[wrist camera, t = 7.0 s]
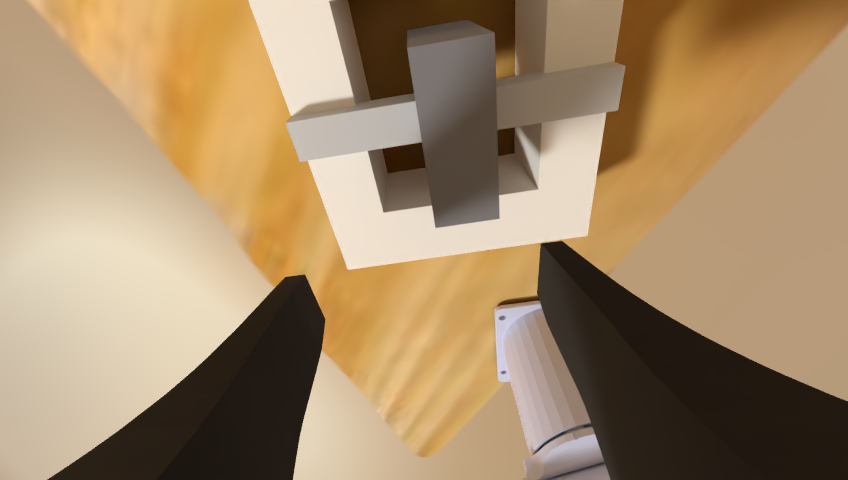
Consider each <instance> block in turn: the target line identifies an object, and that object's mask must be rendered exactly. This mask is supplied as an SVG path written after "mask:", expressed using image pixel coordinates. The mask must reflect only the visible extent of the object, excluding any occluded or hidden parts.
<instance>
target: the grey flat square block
mask: <svg viewBox="0 0 848 480" xmlns="http://www.w3.org/2000/svg"><path fill="white" fill-rule="evenodd" d="M407 52H408V58H409V64H410V70H411V77H412V83H413V89H414V96H415V102H416V108H417V115H418V121H419V127H420V134H421V140H422V146H423V153H424V159H425V165H426V171H427V178H428V184H429V190H430V197H431V203H432V209H433V216H434V222H435V228H440V227H447V226H454V225H460V224H467V223H474V222H481V221H488V220H495V219H500V214H499V175H498V136H497V98H496V59H495V32H493V31H490V30H488V29H486V28H484V27H482V26H480V25H478V24H475V23H473V22H471V21H469V20H467V19H465V20H460V21H454V22H449V23H443V24H438V25H432V26H427V27H421V28H416V29H410V30H407Z"/></svg>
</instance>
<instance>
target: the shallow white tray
mask: <svg viewBox="0 0 848 480" xmlns="http://www.w3.org/2000/svg"><path fill="white" fill-rule="evenodd" d="M248 1H249V4H250V6H251V9H252V12H253V14H254V17H255V20H256V22H257V25H258V28H259V31H260V33H261V36H262V39H263V41H264V44H265V47H266V49H267V52H268V55H269V58H270V60H271V63H272V66H273V68H274V71H275V74H276V76H277V79H278V82H279V85H280V87H281V90H282V93H283V95H284V98H285V101H286V103H287V106H288V109H289V112H290V114H291V117H290V118H289V119H288V121H287V122H286V123H285V124H286V126H287V129H288V131H289V134H290V137H291V139H292V142H293V144H294V147H295V150H296V152H297V155H298V157H299V160H300V162H302V161H308V163H309V166H310V168H311V171H312V174H313V176H314V179H315V182H316V185H317V187H318V190H319V193H320V195H321V198H322V201H323V203H324V206H325V209H326V212H327V214H328V217H329V220H330V222H331V225H332V228H333V230H334V233H335V236H336V239H337V241H338V244H339V247H340V249H341V252H342V255H343V257H344V260H345V263H346V266H347V268H348V270H350V269H357V268H364V267H371V266H378V265H386V264H393V263H400V262H407V261H414V260H421V259H428V258H435V257H442V256H449V255H456V254H463V253H470V252H477V251H484V250H491V249H498V248H505V247H512V246H519V245H526V244H533V243H540V242H547V241H554V240H561V239H568V238H575V237H582V236H587V234H588V227H589V221H590V214H591V208H592V202H593V195H594V189H595V182H596V176H597V170H598V163H599V157H600V151H601V144H602V138H603V131H604V125H605V119H606V112H612V111H618V107H619V102H620V96H621V90H622V85H623V79H624V73H625V67H626V66H625V65H622V64H620V63H617V62H614V61H615V55H616V48H617V42H618V35H619V29H620V23H621V16H622V10H623V3H624V0H515V76H512V77H506V78H500V79H496V98H497V130H500V129H507V128H513V127H515V153H514V154H507V155H501V156H498V175H499V214H500V219H495V220H488V221H481V222H474V223H467V224H460V225H454V226H447V227H440V228H435V222H434V216H433V209H432V203H431V197H430V190H429V184H428V178H427V171H426V167H425V168H418V169H412V170H406V171H399V172H393V173H388V172H387V168H386V164H385V159H384V155H383V151H382V149H383V148H389V147H395V146H401V145H407V144H414V143H420V142H422V140H421V134H420V127H419V121H418V115H417V108H416V102H415V96H414V93H412V94H406V95H400V96H394V97H388V98H382V99H376V100H371V99H370V94H369V90H368V86H367V81H366V77H365V73H364V68H363V64H362V60H361V55H360V51H359V47H358V42H357V38H356V34H355V29H354V25H353V21H352V16H351V12H350V8H349V3H348V0H248Z"/></svg>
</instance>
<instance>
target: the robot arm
mask: <svg viewBox="0 0 848 480" xmlns="http://www.w3.org/2000/svg"><path fill="white" fill-rule="evenodd" d="M537 294H538V297H539V300H538V301H530V302H523V303H515V304H508V305H501V306H498V307H496V309H495V332H496V355H497V376H498V380H499V381H500V382H509V381H511V385H512V389H513V393H514V396H515V400H516V404H517V408H518V412H519V415H520V419H521V423H522V427H523V431H524V434H525V438H526V442H527V445H528V448H529V451H530V453H531V456H530V457H528V458H525V459H524V460H523V462H524V466H525V471H526V474H527V478H523V479H522V480H848V401H845V400H843V399H840V398H837V397H835V396H833V395H830V394H828V393H825V392H823V391H820V390H818V389H816V388H813V387H811V386H809V385H806V384H804V383H802V382H799V381H797V380H795V379H792V378H790V377H788V376H785V375H783V374H781V373H779V372H776V371H774V370H772V369H770V368H767V367H765V366H763V365H761V364H759V363H757V362H754V361H752V360H750V359H748V358H746V357H744V356H742V355H740V354H738V353H736V352H734V351H732V350H730V349H728V348H726V347H724V346H722V345H720V344H718V343H716V342H714V341H712V340H710V339H708V338H706V337H704V336H702V335H701V334H699V333H697V332H695V331H693V330H691V329H690V328H688V327H686V326H684V325H683V324H681V323H679V322H677V321H676V320H674V319H672V318H670V317H669V316H667V315H665V314H664V313H662V312H660V311H659V310H657V309H656V308H654V307H652V306H651V305H649V304H648V303H646V302H645V301H643V300H641V299H640V298H638V297H637V296H635V295H634V294H632V293H631V292H629V291H628V290H627V289H625V288H624V287H622V286H621V285H619V284H618V283H616V282H615V281H614V280H612V279H611V278H610V277H608V276H607V275H606V274H604V273H603V272H602V271H600V270H599V269H598V268H596V267H595V266H594V265H592V264H591V263H590V262H588V261H587V260H586V259H584V258H583V257H582V256H581V255H579V254H578V253H577V252H575V251H574V250H573V249H572V248H570V247H569V246H568V245H566V244H565V243H564V242H562V241H558V242H550V243H543V244H541V249H540V263H539V276H538V290H537ZM324 326H325V318H324V316H323V313H322V311H321V309H320V307H319V305H318V302H317V300H316V298H315V296H314V294H313V291H312V289H311V287H310V285H309V282H308V280H307V278H306V276H305V275H298V276H290V277H285V278H284V279H283V280H282V281H281V282H280V283H279V284H278V285H277V286H276V287H275V288H274V290H273V291H272V292H271V293H270V294H269V295H268V296H267V297H266V298H265V299H264V301H262V303H261V304H260V305H259V306H258V307H257V308H256V309H255V310H254V311H253V312H252V313H251V314H250V315H249V316H248V317H247V319H246V320H245V321H244V322H243V323H242V324H241V325H240V326H239V327H238V328H237V329H236V330H235V331H234V332H233V333H232V334H231V335H230V336H229V337H228V338H227V339H226V340H225V341H224V342H223V343H222V344H221V345H220V346H219V347H218V348H217V349H216V350H215V351H214V352H213V353H212V354H211V355H210V356H209V357H208V358H207V359H205V360H204V361H203V362H202V363H201V364H200V365H199V366H198V367H197V368H196V369H195V370H194V371H192V372H191V373H190V374H189V375H188V376H187V377H186V378H184V379H183V380H182V381H181V382H180V383H178V384H177V385H176V386H175V387H174V388H173V389H171V390H170V391H169V392H168V393H167V394H166V395H164V396H163V397H162V398H161V399H159V400H158V401H157V402H155V403H154V404H153V405H151V406H150V407H149V408H148V409H146V410H145V411H144V412H142V413H141V414H140V415H138V416H137V417H136V418H135V419H133V420H132V421H131V422H129V423H128V424H127V425H125V426H124V427H123V428H122V429H120V430H119V431H118V432H116V433H115V434H113V435H112V436H111V437H109V438H108V439H106V440H105V441H104V442H102V443H101V444H99V445H98V446H97V447H95V448H94V449H92V450H91V451H89V452H88V453H87V454H85V455H84V456H82V457H81V458H79V459H78V460H76V461H75V462H73V463H72V464H70V465H69V466H67V467H66V468H64V469H63V470H62V471H60V472H59V473H57V474H55V475H54V476H52V477H51V478H49V479H48V480H293V474H294V468H295V462H296V455H297V449H298V443H299V437H300V432H301V427H302V423H303V419H304V415H305V411H306V408H307V404H308V400H309V396H310V393H311V389H312V385H313V381H314V377H315V374H316V370H317V366H318V362H319V358H320V354H321V350H322V343H323V335H324Z"/></svg>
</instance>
